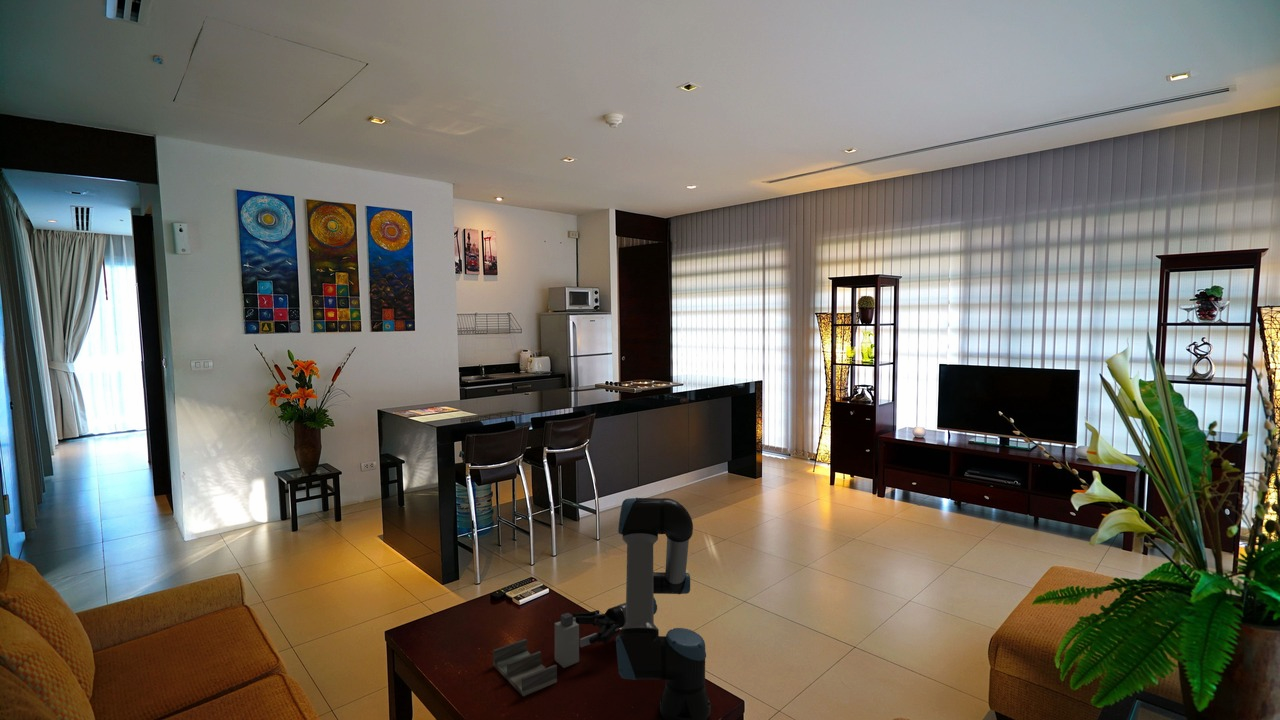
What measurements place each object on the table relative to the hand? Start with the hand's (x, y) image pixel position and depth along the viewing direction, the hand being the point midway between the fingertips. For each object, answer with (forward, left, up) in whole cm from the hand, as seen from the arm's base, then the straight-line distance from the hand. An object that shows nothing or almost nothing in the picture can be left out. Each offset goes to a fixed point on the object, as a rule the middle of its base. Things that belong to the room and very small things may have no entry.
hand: (569, 634), depth 208 cm
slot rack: (+1, +16, -8) cm, 19 cm away
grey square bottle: (-1, +1, -9) cm, 9 cm away
